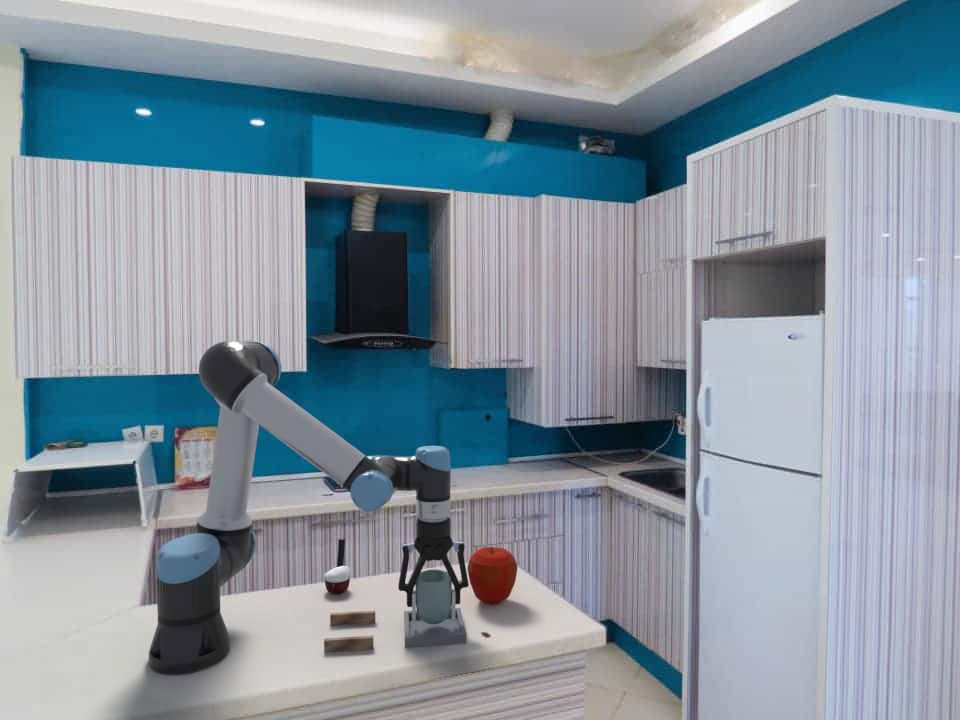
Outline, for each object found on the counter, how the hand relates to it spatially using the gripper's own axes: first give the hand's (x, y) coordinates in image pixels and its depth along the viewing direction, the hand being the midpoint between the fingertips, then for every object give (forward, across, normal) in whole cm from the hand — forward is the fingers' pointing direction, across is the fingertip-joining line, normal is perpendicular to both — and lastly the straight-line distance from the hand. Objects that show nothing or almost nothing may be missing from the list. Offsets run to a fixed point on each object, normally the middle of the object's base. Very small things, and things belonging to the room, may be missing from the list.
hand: (433, 619), depth 139 cm
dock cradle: (+3, 0, 0) cm, 3 cm away
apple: (+3, +15, +13) cm, 20 cm away
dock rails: (+3, -18, 0) cm, 18 cm away
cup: (0, 0, 0) cm, 0 cm away
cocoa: (+3, -23, +25) cm, 34 cm away
